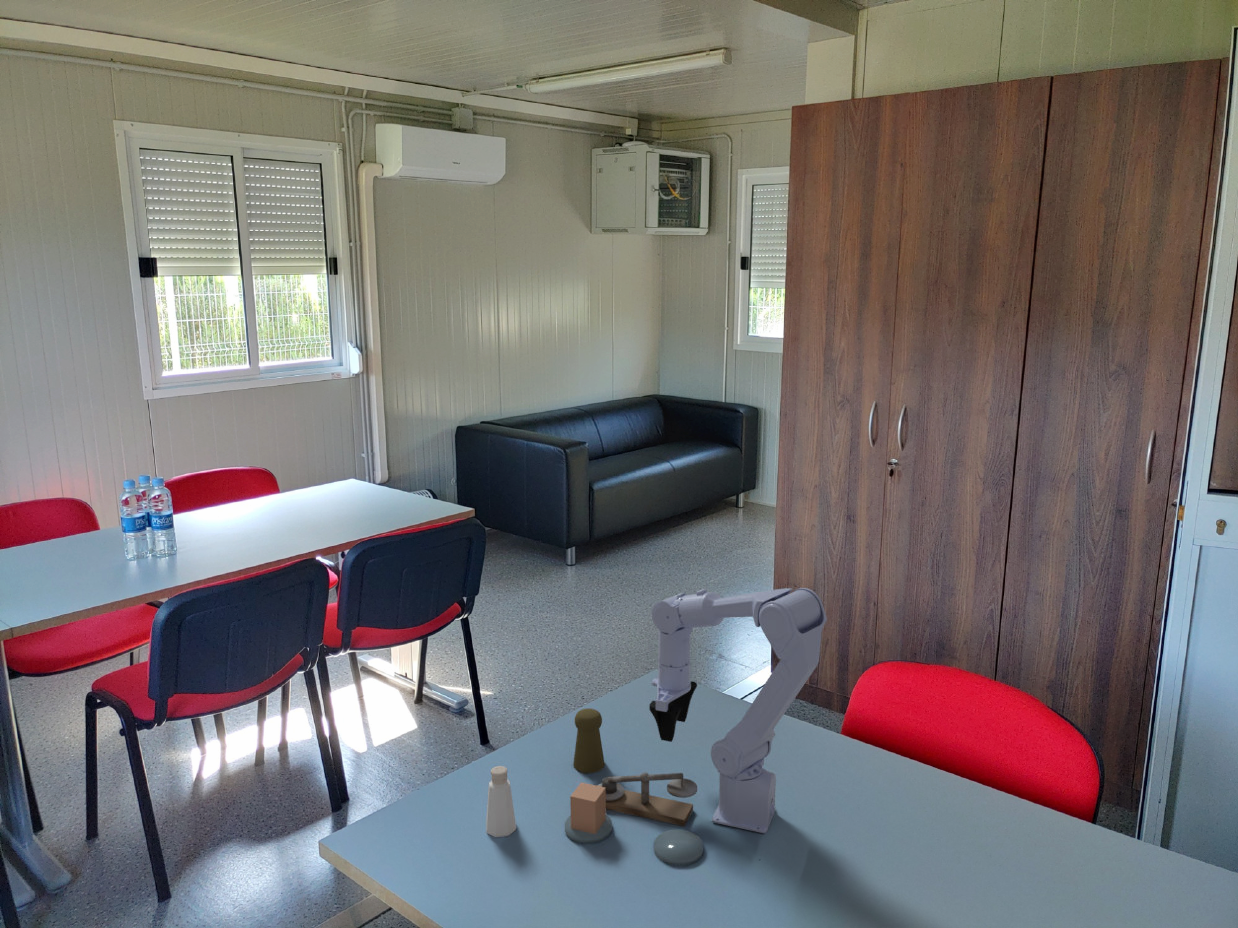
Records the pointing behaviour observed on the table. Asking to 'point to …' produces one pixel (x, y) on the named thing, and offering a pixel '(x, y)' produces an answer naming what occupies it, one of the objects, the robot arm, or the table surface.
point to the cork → (588, 742)
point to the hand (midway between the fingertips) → (673, 729)
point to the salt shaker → (500, 804)
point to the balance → (651, 797)
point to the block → (588, 808)
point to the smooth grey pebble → (678, 847)
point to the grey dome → (588, 837)
